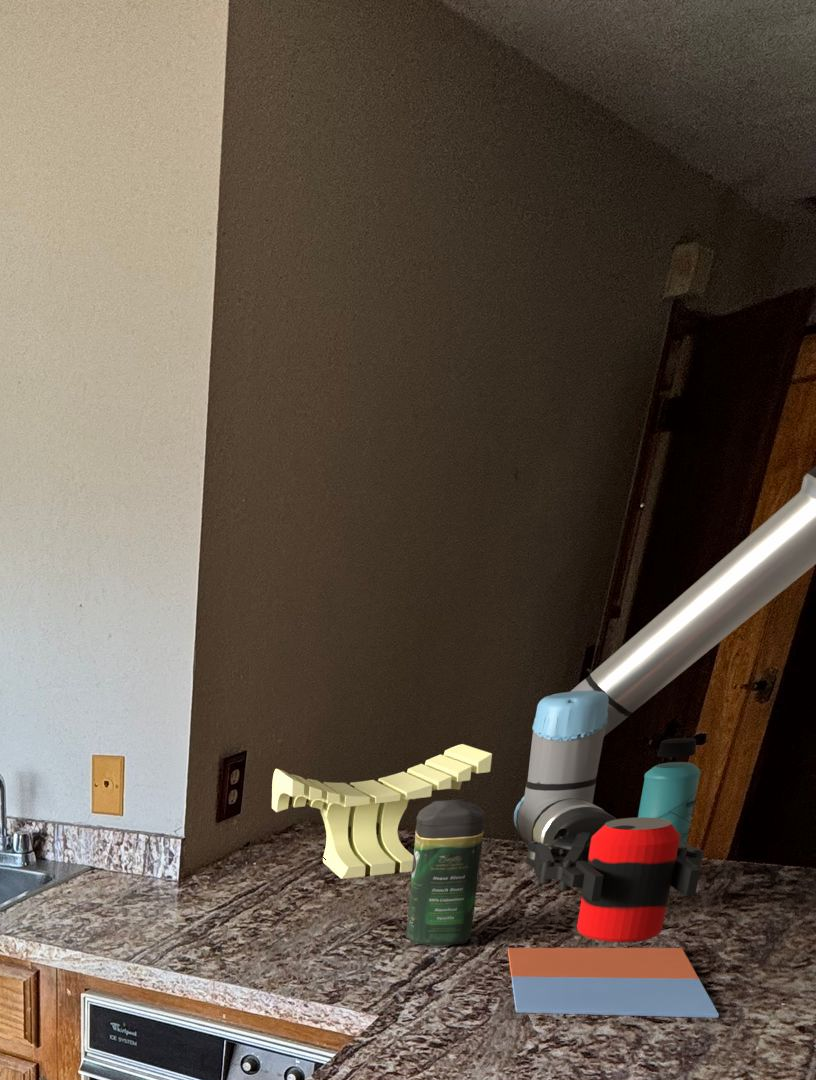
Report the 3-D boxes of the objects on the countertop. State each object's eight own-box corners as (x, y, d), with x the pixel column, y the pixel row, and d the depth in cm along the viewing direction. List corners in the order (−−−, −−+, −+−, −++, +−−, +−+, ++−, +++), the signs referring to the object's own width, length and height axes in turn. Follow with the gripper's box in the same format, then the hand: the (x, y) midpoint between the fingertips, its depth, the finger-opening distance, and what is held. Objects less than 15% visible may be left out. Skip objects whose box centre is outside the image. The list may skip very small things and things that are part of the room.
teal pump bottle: (623, 887, 145) (649, 745, 136) (624, 875, 150) (648, 737, 141) (681, 887, 141) (710, 741, 133) (680, 875, 146) (708, 733, 137)
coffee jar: (474, 948, 133) (490, 807, 125) (407, 949, 136) (419, 812, 128) (467, 926, 141) (482, 792, 133) (404, 928, 144) (415, 798, 136)
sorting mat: (681, 950, 122) (682, 947, 121) (718, 1018, 105) (719, 1014, 105) (507, 950, 130) (508, 947, 130) (515, 1012, 113) (516, 1009, 113)
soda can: (560, 934, 112) (577, 827, 107) (604, 918, 115) (623, 813, 109) (631, 947, 106) (653, 835, 101) (677, 930, 108) (700, 819, 103)
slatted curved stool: (445, 843, 180) (455, 741, 172) (479, 864, 166) (492, 753, 158) (270, 863, 186) (272, 765, 179) (289, 884, 172) (292, 779, 165)
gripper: (672, 860, 121) (758, 914, 101) (479, 873, 128) (525, 926, 108) (684, 797, 117) (776, 841, 98) (485, 814, 124) (535, 858, 105)
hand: (644, 885), depth 103 cm, fingers closed on soda can, 7 cm apart
